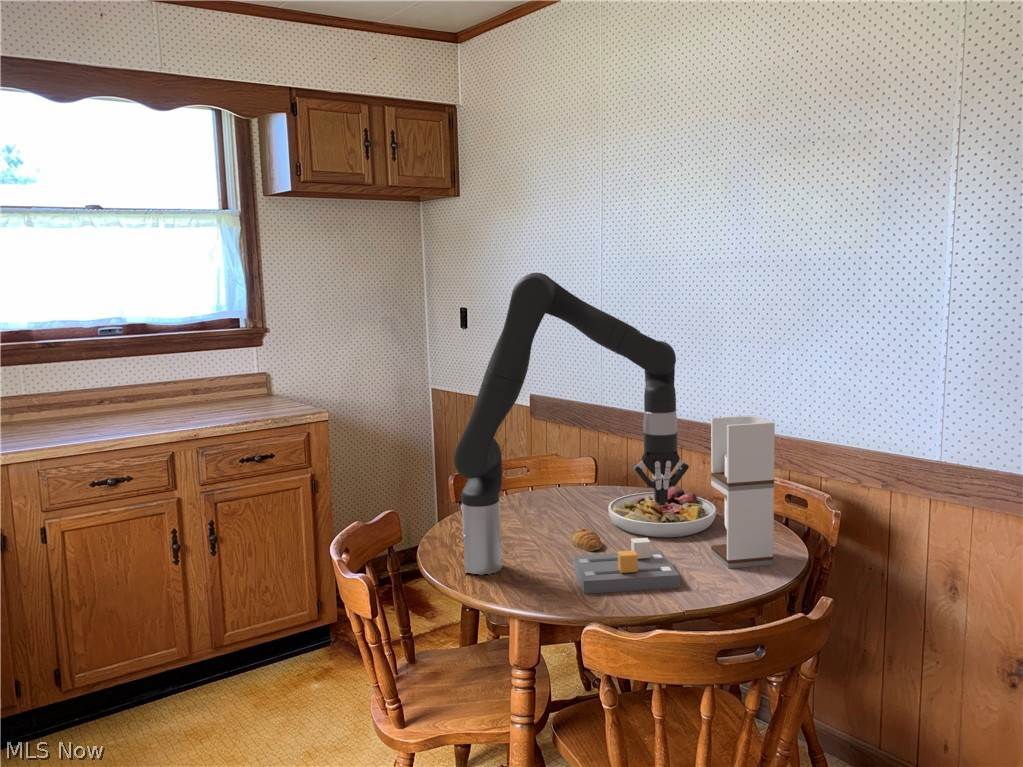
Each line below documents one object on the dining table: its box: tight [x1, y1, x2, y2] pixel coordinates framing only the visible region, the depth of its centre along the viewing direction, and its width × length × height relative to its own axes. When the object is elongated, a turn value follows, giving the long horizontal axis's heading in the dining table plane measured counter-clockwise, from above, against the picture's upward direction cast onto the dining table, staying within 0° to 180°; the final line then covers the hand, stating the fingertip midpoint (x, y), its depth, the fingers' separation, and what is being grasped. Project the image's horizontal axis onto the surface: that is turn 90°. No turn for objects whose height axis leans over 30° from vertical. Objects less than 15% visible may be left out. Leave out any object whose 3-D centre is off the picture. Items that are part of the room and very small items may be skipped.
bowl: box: [608, 485, 717, 538], centre depth 225 cm, size 30×30×8 cm
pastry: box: [572, 528, 603, 552], centre depth 208 cm, size 9×7×4 cm
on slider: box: [630, 537, 652, 559], centre depth 190 cm, size 4×3×4 cm
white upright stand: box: [710, 414, 776, 569], centre depth 193 cm, size 11×11×35 cm
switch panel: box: [572, 550, 681, 595], centre depth 187 cm, size 22×16×3 cm
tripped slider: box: [617, 550, 638, 573], centre depth 182 cm, size 4×3×4 cm
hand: (661, 504), depth 181 cm, fingers closed
